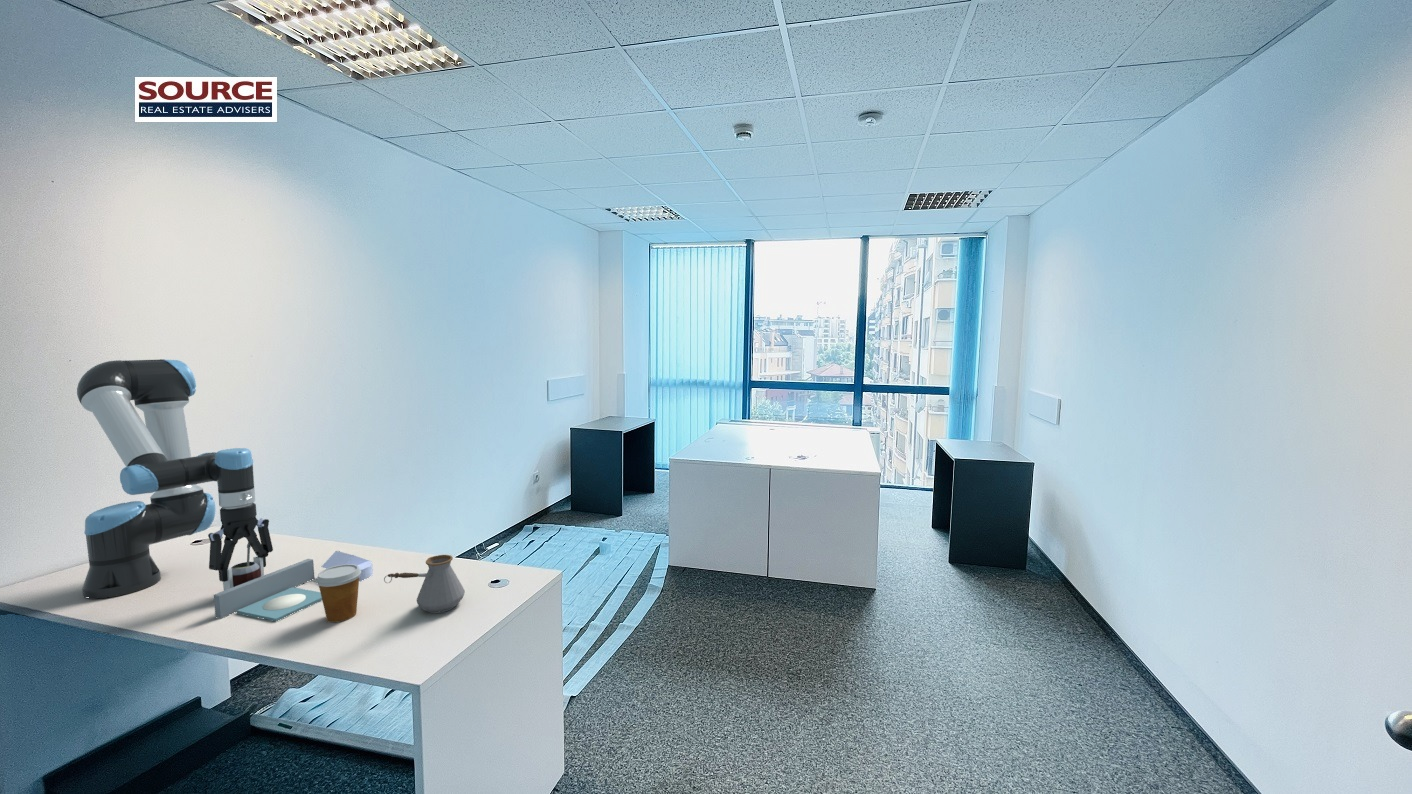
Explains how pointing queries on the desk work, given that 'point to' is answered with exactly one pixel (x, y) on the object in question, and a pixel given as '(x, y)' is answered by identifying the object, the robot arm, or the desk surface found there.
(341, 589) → the disposable coffee cup
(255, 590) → the low wall
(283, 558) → the desk surface
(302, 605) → the mat
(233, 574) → the mate gourd
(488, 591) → the desk surface
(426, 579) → the coffee pot
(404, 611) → the desk surface
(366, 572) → the wedge on round base
